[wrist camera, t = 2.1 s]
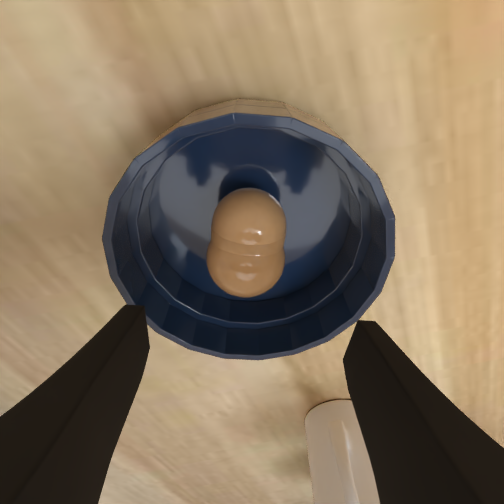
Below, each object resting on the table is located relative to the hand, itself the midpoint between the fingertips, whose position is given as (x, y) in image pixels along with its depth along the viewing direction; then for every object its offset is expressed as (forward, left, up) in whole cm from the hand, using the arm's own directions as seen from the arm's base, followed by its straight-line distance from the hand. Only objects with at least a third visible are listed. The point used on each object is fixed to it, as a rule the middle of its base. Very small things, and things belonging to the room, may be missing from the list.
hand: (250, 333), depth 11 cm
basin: (0, 0, -8) cm, 8 cm away
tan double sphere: (0, 0, -8) cm, 8 cm away
